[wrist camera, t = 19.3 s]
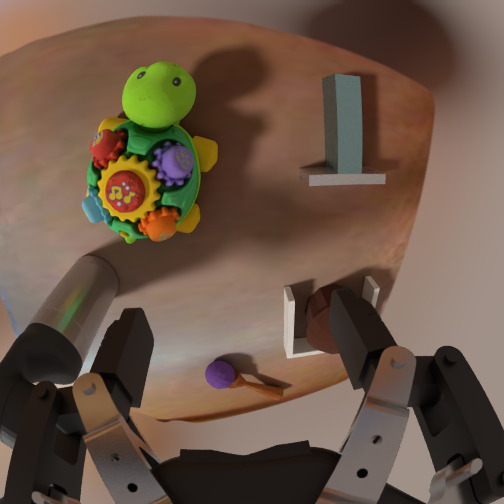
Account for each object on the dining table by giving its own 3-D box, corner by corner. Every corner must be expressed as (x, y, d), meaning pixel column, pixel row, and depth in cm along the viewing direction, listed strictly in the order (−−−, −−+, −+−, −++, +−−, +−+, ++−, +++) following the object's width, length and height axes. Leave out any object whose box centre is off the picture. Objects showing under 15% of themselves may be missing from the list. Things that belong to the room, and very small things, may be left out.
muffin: (292, 327, 50) (303, 367, 41) (303, 278, 45) (320, 318, 36) (348, 324, 51) (366, 361, 42) (365, 279, 46) (389, 314, 37)
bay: (284, 286, 45) (288, 301, 42) (370, 275, 46) (379, 288, 42) (283, 343, 52) (287, 358, 48) (358, 331, 52) (364, 344, 49)
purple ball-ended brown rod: (269, 407, 57) (198, 387, 49) (268, 386, 62) (201, 362, 53) (288, 401, 55) (216, 379, 46) (286, 378, 59) (217, 352, 51)
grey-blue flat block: (294, 77, 30) (304, 71, 26) (368, 83, 30) (385, 80, 26) (299, 177, 37) (309, 186, 32) (368, 175, 37) (385, 184, 33)
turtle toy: (242, 87, 30) (248, 73, 20) (193, 242, 40) (182, 287, 30) (124, 64, 27) (85, 47, 16) (92, 215, 37) (54, 250, 26)
